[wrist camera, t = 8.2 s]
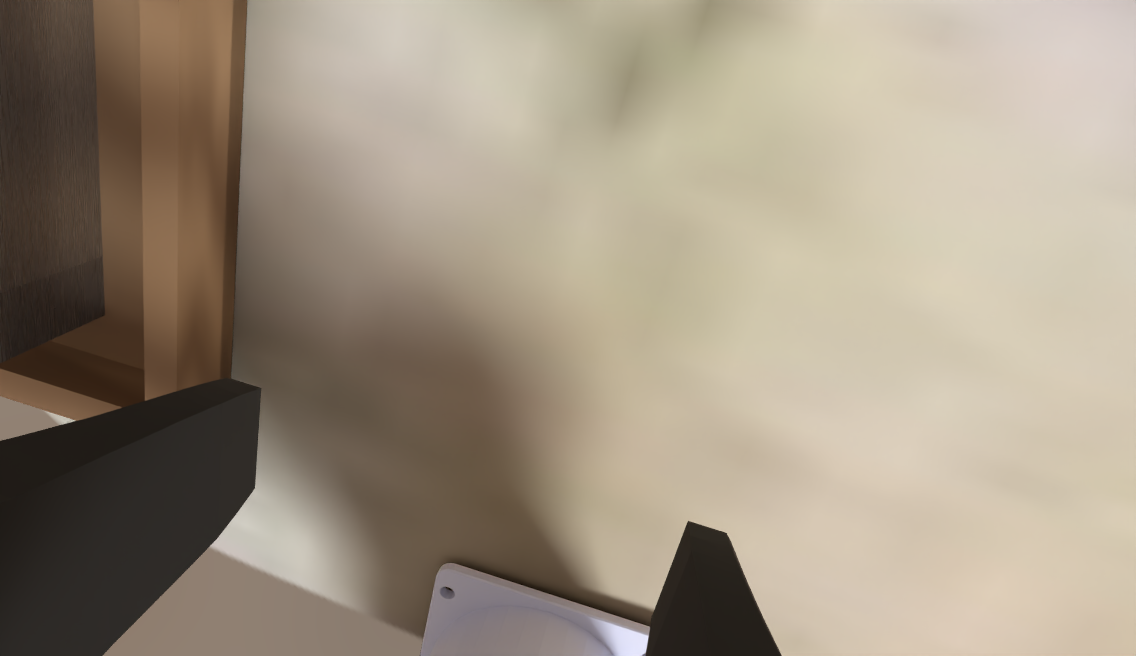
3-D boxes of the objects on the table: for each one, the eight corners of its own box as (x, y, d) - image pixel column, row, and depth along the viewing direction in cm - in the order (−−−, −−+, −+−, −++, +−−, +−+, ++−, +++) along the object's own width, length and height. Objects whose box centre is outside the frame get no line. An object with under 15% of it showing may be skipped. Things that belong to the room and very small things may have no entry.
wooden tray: (229, 411, 24) (175, 452, 21) (-41, 326, 25) (-121, 357, 22) (258, -249, 17) (181, -297, 14) (-127, -340, 17) (-260, -399, 15)
